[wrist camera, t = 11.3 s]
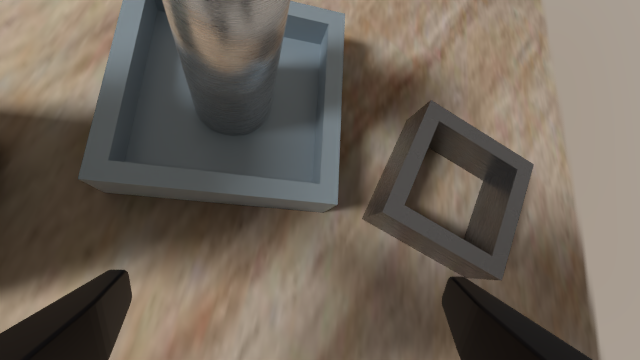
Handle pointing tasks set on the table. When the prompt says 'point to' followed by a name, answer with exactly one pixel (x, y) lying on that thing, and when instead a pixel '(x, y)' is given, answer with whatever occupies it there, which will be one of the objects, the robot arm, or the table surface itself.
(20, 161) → the table surface
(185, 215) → the table surface
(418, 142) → the grey square tray
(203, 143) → the parts tray
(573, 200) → the table surface
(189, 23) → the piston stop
